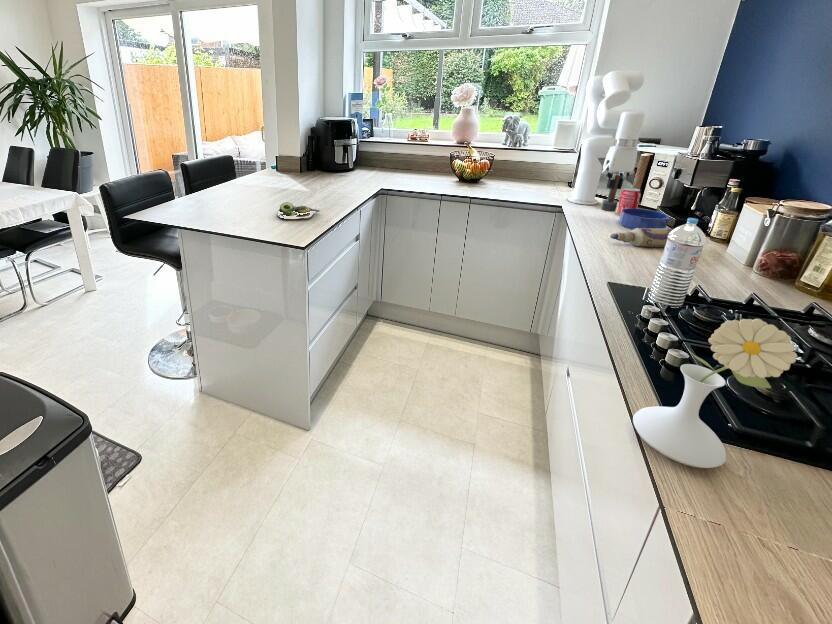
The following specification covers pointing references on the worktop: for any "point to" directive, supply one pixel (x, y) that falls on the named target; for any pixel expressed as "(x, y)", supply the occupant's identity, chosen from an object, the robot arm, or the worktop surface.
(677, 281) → the water bottle
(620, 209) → the soda can
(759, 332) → the flower in vase
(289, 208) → the salad plate
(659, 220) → the blue bowl
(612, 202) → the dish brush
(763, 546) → the worktop surface
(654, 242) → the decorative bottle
